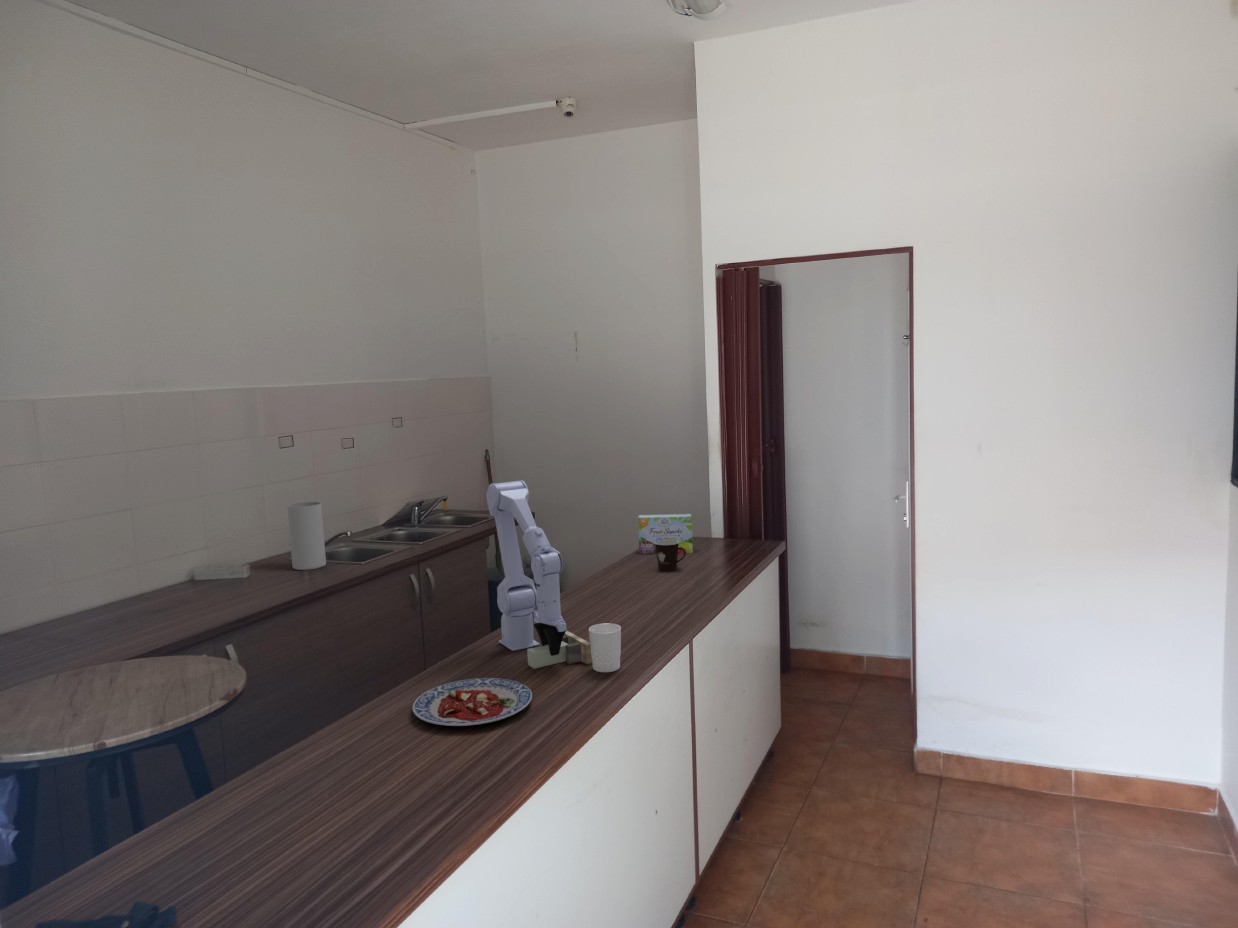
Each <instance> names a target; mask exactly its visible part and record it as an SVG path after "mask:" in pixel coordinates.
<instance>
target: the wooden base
mask: <svg viewBox="0 0 1238 928" xmlns="http://www.w3.org/2000/svg"><path fill="white" fill-rule="evenodd" d="M562 641H563V642H565V643H567V644H568V645H566V661H565V662H566V663H567V664H568V665H572V664H575V663H580V662H582V663H584V664H586V665H589V664H593V663H592V658H591V648H590V641H588V640H585V639H584V638H581V637H579V636H578V635H576V634H574V633H573V632H570V631H569V630H567V631H566V632H565V634H564V636H563V639H562Z"/></svg>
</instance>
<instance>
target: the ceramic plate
mask: <svg viewBox="0 0 1238 928" xmlns="http://www.w3.org/2000/svg"><path fill="white" fill-rule="evenodd" d="M532 698H533V693H532V690H531V689H530V688H529V687H528V686H527V685H525V684H523V683H520V682H518V681H516V680H512V679H506V678H498V677H497V678H495V677H481V678H480V677H479V678H469V679H463V680H456V681H452V682H448V683H444V684H442V685H438V686H436V687H434V688H431V689H428V690H427V691H425V692H423V693H422V694H421V695H420V696H418V697H417V698H416V699H415V701H414V702H413V704H412V711H413V714H414V715H415V716H416V717H417V718H419V719H420V720H422V721H424V722H427V723H430V724H434V725H439V726H449V727H450V726H451V727H466V726H475V725H483V724H489V723H492V722H497V721H501V720H504V719H506V718H509V717H512V716H514V715H515V714H518V713H519V712H521V711H523V710H524V709H526V707H528V705H529V704H530V703H531V701H532Z"/></svg>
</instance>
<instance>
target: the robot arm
mask: <svg viewBox="0 0 1238 928" xmlns="http://www.w3.org/2000/svg"><path fill="white" fill-rule="evenodd" d="M529 499H530V493H529V487H528V485H527V483H526V482H525V481H524V480H522V479H519V480H515V481H508V482H507V481H506V482H499V483H490V484H489V486H488V488H487V490H486V501H487V507H488V512H489V515H490V516H492V517H494V521H495V526H496V533H497V538H498V544H499V549H500V555H501V561H502V566H503V573H504V578H503V579H502V581H501V582H500V583H499V585H497V587H496V591H497V598H496V600H497V601H496V602H497V607H498V610H499V611H500V612H501V613H502V615H501V618H500V625H501V627H500V629H501V639H499V641H498V642H499V644H501V645H503V646H504V647H506V648H507V649H508V650H510V651H512V652H514V651H515V652H516V651H519V650H524V649H530V648H535V647H539V646H544V645H549V651H550V654H551V656H554V655H558V654H559V652H560V647H561V642H562V639H563V636H564V634H565V632H566V631H568V630H567V628H568V627H567V623H566V621H565V620H564V618H563V616H562V613H561V612H562V611H561V608H562V607H561V593H560V592H561V591H560V574H561V573H562V571H563V568H564V561H563V557H562V554H561V553H560V552H559V551H558V550H557V549H555V547H554V546H553V547H552V546H551V543H550V542H549V539H548V537H547V535H546V533H545V532H544V530H543V528H541V527H538V526H537V524H536V522H535V521H536V520H535V518H534V517H533V514H532V512H531V508H530V506H529ZM515 520H516V522H517V523H518V526H519V527H520V529H521V530H522V532H523V535H522V542H523V544H524V546H525V549H526V550H527V552H528V554H529V557H530V558H531V563H530V568H531V572H532V575H533V579H532V578H530V577H528V576H526V575H525V574H524V567H523V562H522V556H521V552H520V551H521V550H520V544H519V539H518V533H517V530H516V524H515ZM535 584H536V586H535ZM535 608H537V610H535ZM533 618H534V619H533ZM534 629H535V631H536V633H537V634H538V637H539V640H540V642H538V641H536V640H535V639H534ZM540 643H541V645H540Z"/></svg>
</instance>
